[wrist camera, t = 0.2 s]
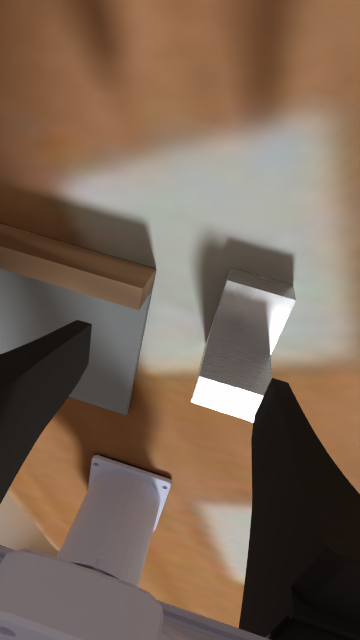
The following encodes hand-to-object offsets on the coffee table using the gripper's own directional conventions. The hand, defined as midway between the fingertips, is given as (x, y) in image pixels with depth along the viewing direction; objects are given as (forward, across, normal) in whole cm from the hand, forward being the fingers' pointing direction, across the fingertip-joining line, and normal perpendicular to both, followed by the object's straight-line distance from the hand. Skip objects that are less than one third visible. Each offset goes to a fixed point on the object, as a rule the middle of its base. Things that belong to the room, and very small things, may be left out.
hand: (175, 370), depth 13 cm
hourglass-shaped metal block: (+10, -3, +2) cm, 11 cm away
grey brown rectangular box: (+10, +12, +8) cm, 17 cm away
